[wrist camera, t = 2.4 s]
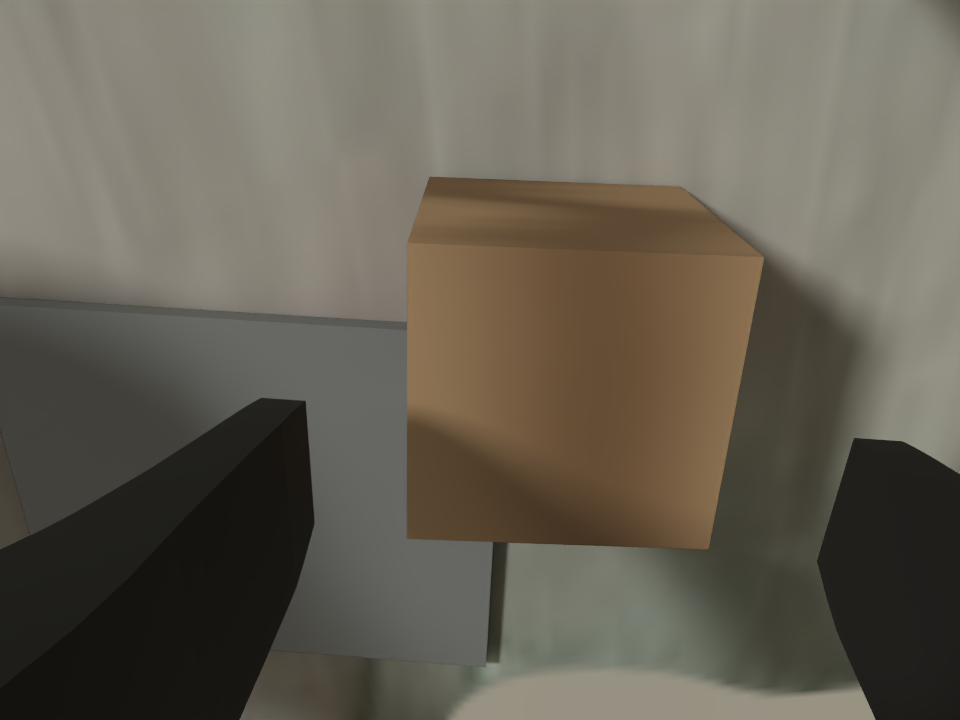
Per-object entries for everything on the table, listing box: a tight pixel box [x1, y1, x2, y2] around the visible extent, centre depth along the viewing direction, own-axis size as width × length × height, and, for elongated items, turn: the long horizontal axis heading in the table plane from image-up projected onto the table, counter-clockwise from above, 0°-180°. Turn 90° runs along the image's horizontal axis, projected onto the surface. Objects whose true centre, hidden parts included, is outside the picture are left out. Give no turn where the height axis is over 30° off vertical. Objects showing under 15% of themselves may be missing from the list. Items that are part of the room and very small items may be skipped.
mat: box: [0, 298, 493, 667], centre depth 20 cm, size 12×10×1 cm
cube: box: [407, 177, 764, 549], centre depth 14 cm, size 5×5×5 cm
